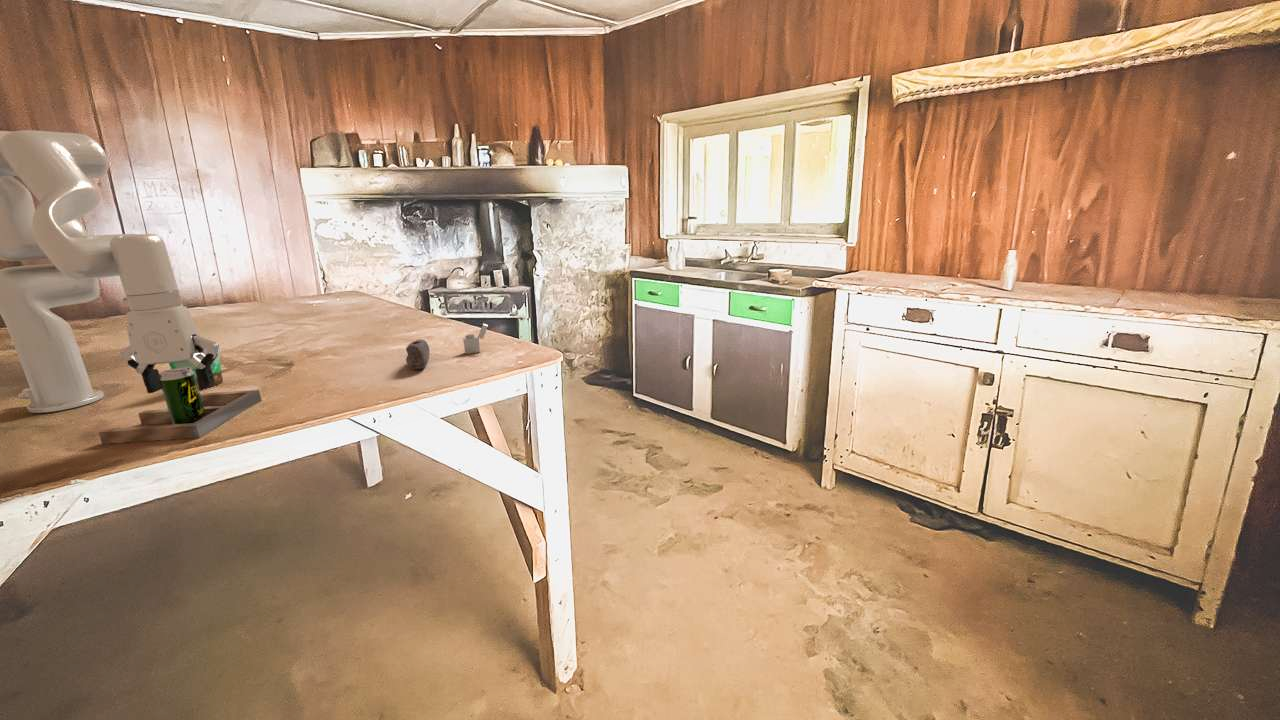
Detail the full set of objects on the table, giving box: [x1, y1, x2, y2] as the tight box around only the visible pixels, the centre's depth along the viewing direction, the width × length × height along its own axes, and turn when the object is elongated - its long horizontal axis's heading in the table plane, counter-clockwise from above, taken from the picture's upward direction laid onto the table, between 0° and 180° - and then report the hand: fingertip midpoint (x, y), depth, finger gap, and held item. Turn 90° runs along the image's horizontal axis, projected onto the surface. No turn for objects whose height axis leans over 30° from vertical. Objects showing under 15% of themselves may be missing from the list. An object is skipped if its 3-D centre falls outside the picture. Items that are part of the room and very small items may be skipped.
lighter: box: [462, 322, 489, 355], centre depth 157 cm, size 7×2×8 cm, turn 106°
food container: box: [168, 346, 224, 391], centre depth 135 cm, size 12×6×10 cm, turn 168°
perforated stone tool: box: [405, 338, 430, 370], centre depth 147 cm, size 15×5×7 cm, turn 11°
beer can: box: [159, 367, 206, 425], centre depth 108 cm, size 5×5×12 cm
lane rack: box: [98, 389, 262, 445], centre depth 114 cm, size 18×20×2 cm
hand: (182, 388), depth 108 cm, fingers open, 9 cm apart
